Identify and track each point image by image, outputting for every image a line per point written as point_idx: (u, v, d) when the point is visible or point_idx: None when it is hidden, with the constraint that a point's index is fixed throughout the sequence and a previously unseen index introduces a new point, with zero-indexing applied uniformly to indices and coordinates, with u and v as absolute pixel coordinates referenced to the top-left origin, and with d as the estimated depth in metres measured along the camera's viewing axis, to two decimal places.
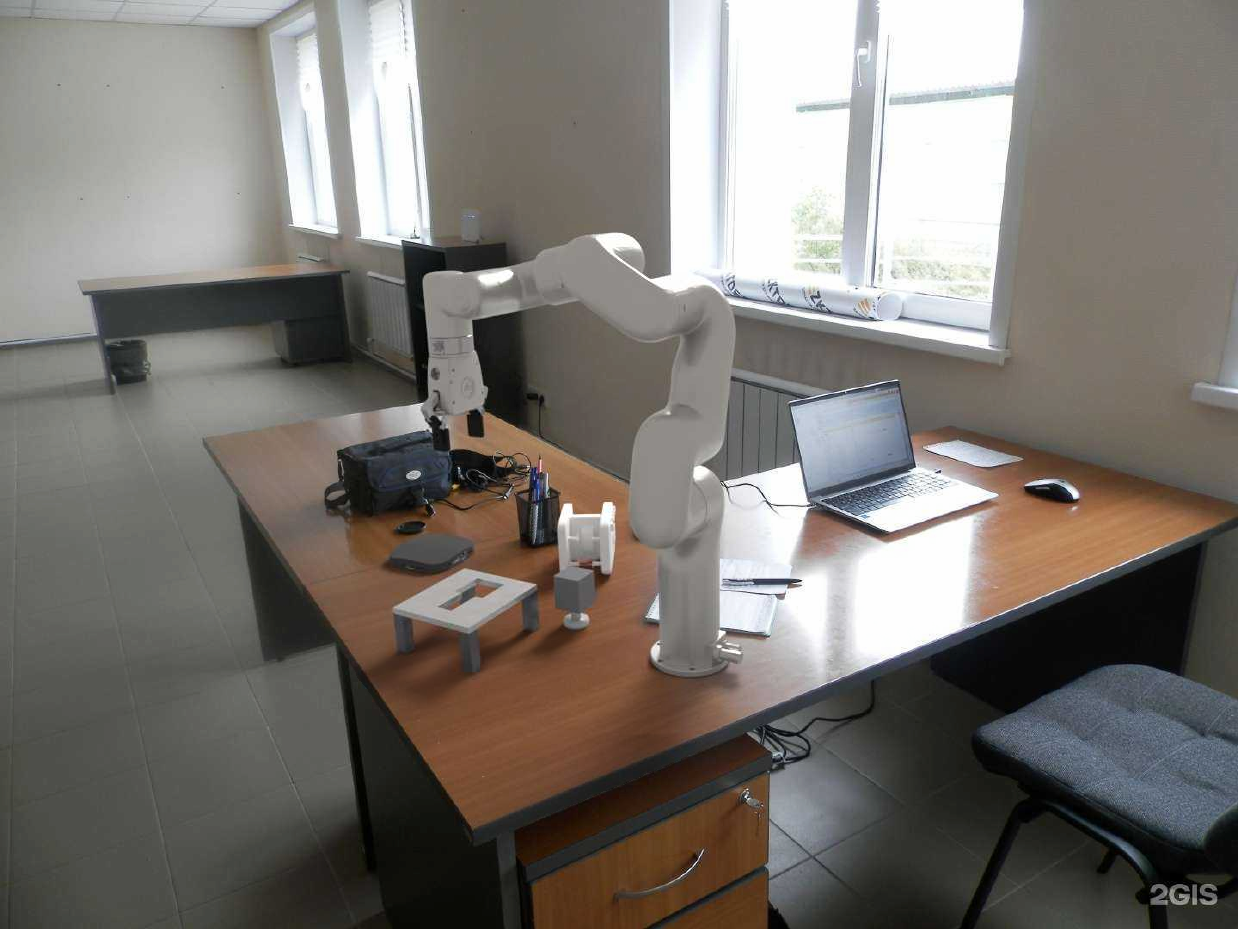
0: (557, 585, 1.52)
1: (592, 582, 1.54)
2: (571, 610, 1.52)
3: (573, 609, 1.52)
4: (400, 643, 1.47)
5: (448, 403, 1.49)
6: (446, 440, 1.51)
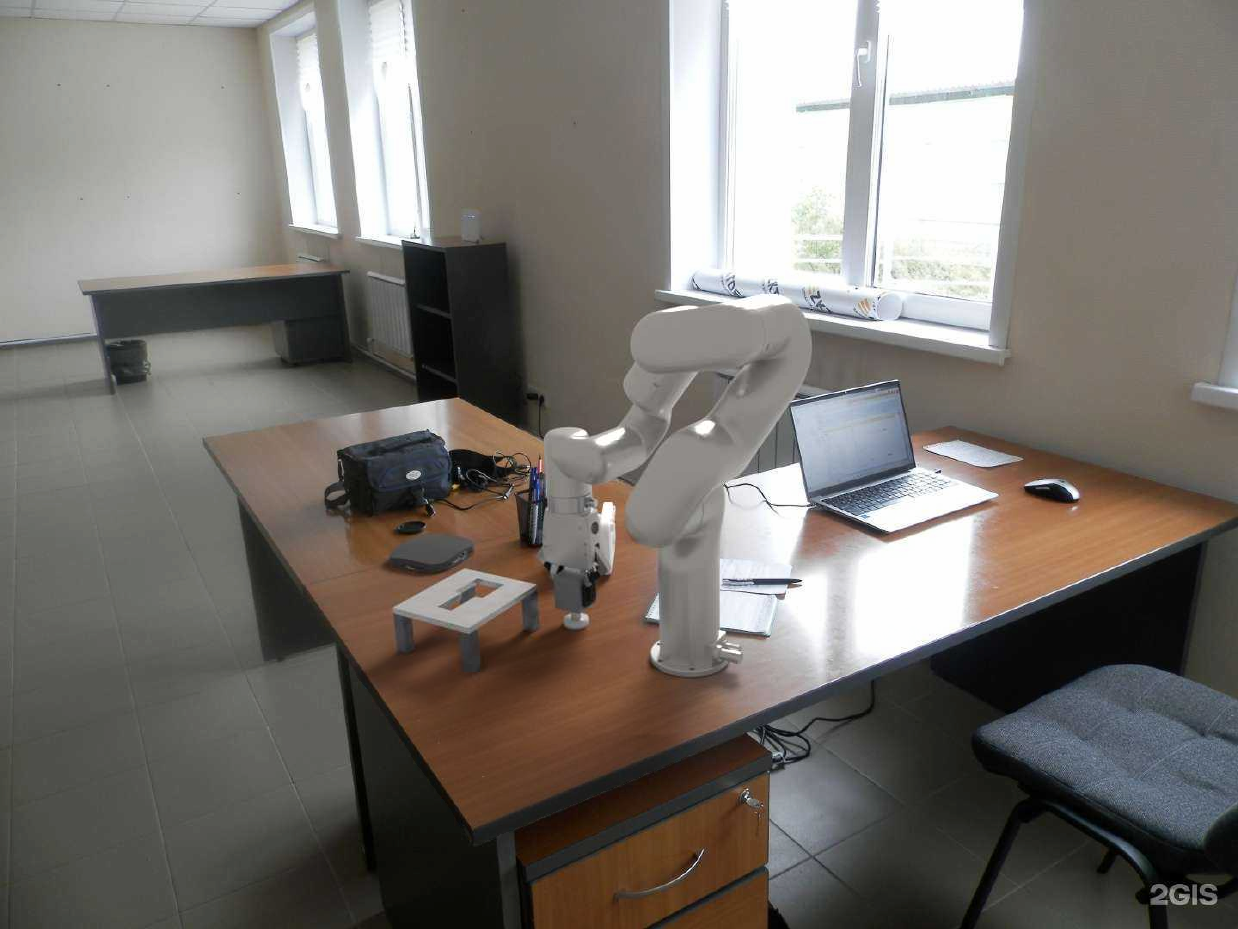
0: (557, 585, 1.52)
1: None
2: (571, 610, 1.52)
3: (573, 609, 1.52)
4: (400, 643, 1.47)
5: None
6: None
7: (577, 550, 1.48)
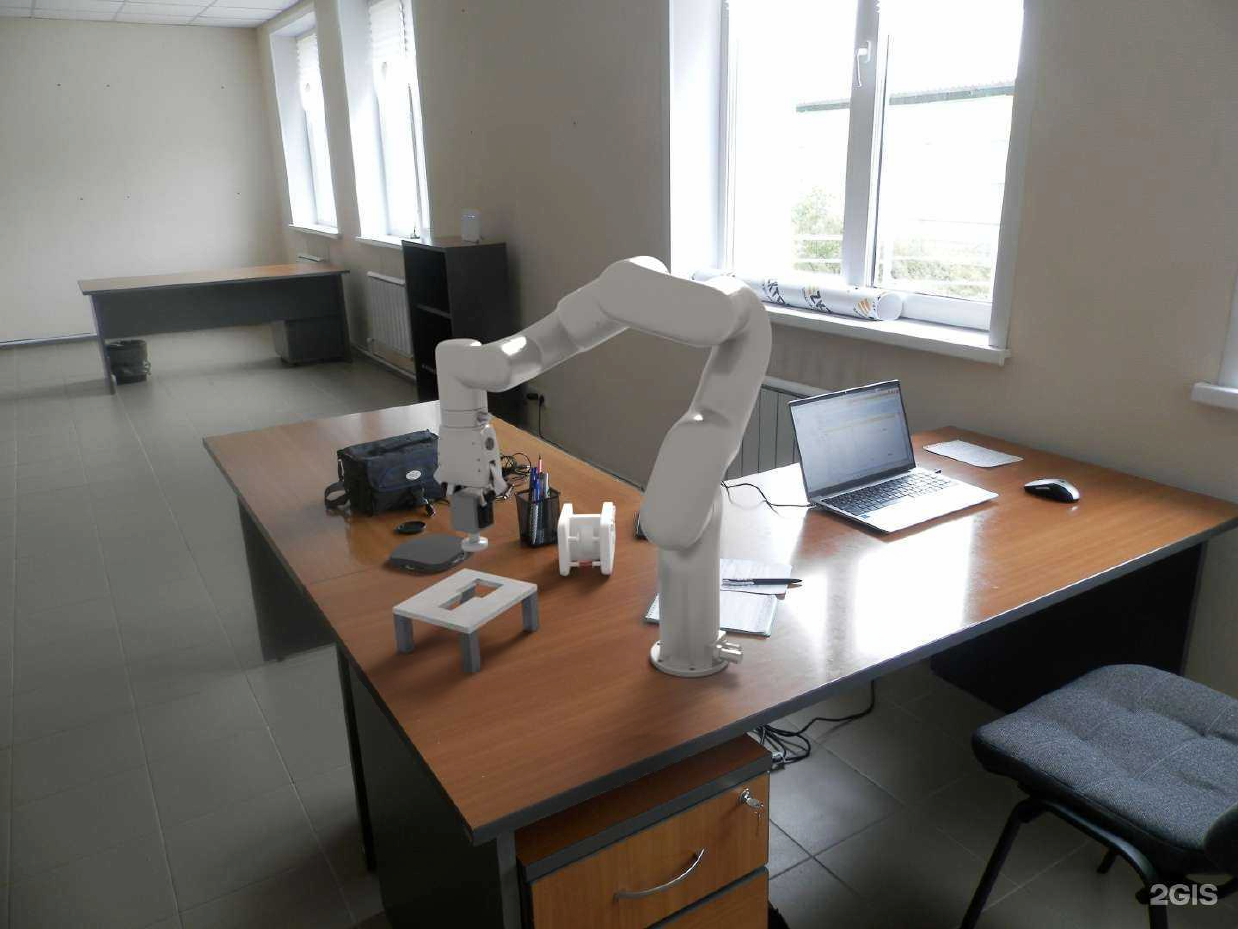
0: (452, 505, 1.47)
1: None
2: (467, 531, 1.47)
3: (469, 529, 1.46)
4: (400, 643, 1.47)
5: (501, 469, 1.46)
6: None
7: (471, 467, 1.43)
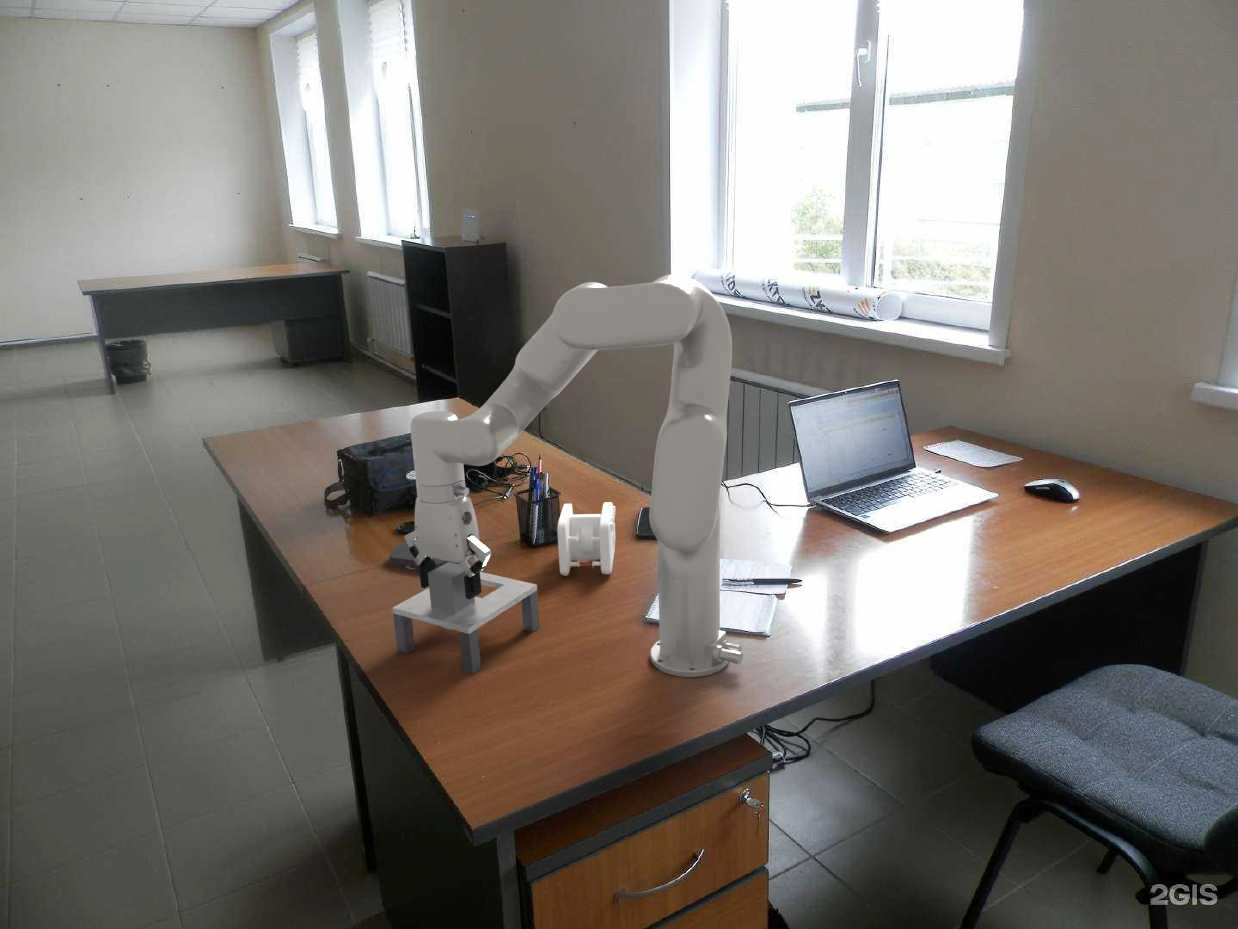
0: (431, 583, 1.44)
1: None
2: (446, 609, 1.44)
3: (448, 608, 1.44)
4: (400, 643, 1.47)
5: None
6: None
7: (448, 542, 1.40)
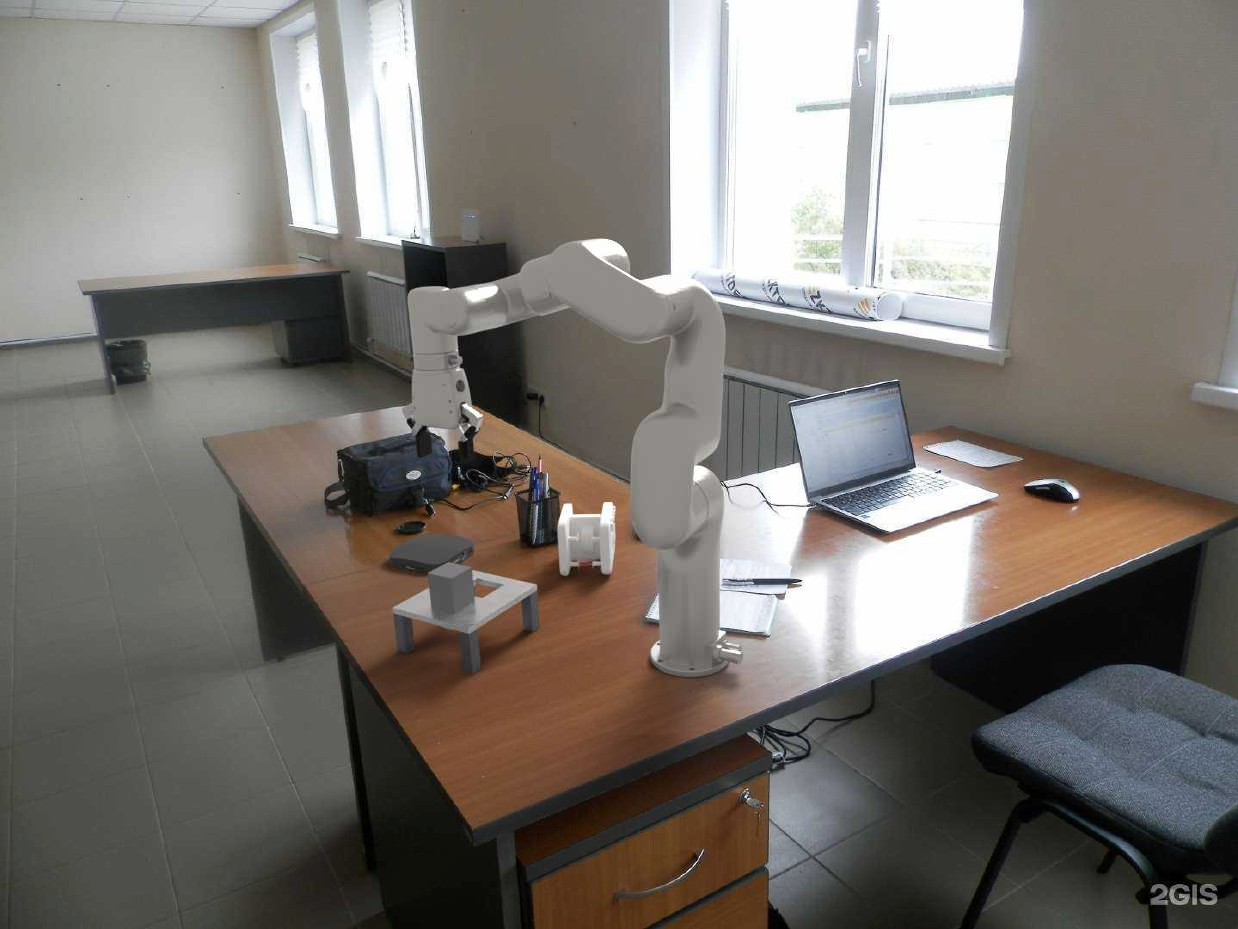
0: (431, 583, 1.44)
1: (470, 579, 1.46)
2: (446, 609, 1.44)
3: (448, 608, 1.44)
4: (400, 643, 1.47)
5: None
6: None
7: (443, 408, 1.50)
